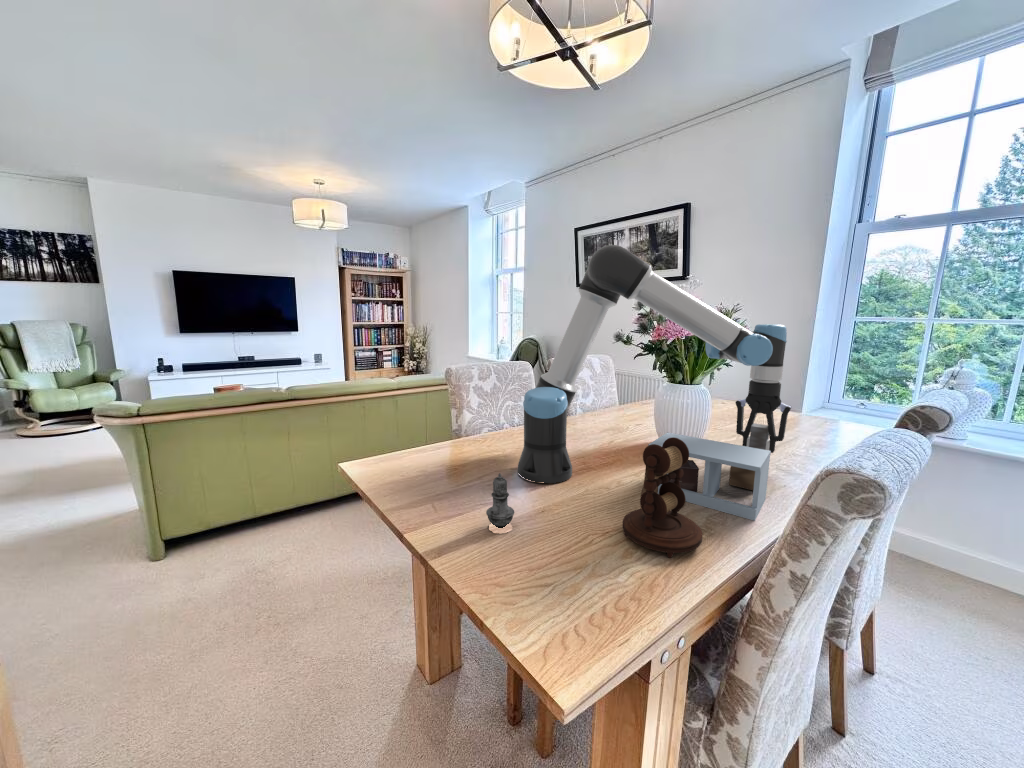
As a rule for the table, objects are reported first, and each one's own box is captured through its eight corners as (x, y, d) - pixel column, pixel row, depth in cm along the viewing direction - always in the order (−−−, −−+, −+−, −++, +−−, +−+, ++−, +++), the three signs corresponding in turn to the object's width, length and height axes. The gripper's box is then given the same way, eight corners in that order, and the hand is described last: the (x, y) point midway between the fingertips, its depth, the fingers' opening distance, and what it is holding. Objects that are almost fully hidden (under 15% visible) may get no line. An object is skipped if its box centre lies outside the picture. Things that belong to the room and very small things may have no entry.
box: (697, 497, 98) (699, 468, 97) (671, 495, 99) (672, 466, 98) (691, 486, 104) (693, 459, 103) (666, 485, 105) (668, 458, 104)
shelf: (645, 490, 102) (648, 444, 100) (665, 474, 112) (667, 432, 110) (754, 520, 87) (760, 467, 85) (765, 498, 97) (771, 450, 95)
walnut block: (728, 484, 104) (733, 439, 102) (746, 461, 120) (749, 422, 118) (755, 490, 100) (760, 444, 98) (769, 466, 116) (774, 426, 114)
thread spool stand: (649, 512, 91) (654, 426, 87) (715, 541, 79) (724, 442, 76) (607, 535, 82) (610, 439, 78) (675, 570, 70) (683, 460, 67)
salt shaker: (504, 538, 81) (504, 481, 79) (480, 530, 84) (479, 475, 82) (519, 525, 86) (519, 471, 84) (496, 518, 89) (496, 465, 87)
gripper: (804, 381, 110) (794, 464, 114) (734, 376, 121) (727, 451, 125) (801, 385, 104) (791, 472, 108) (728, 379, 115) (721, 457, 119)
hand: (756, 460), depth 116 cm, fingers closed on walnut block, 4 cm apart
